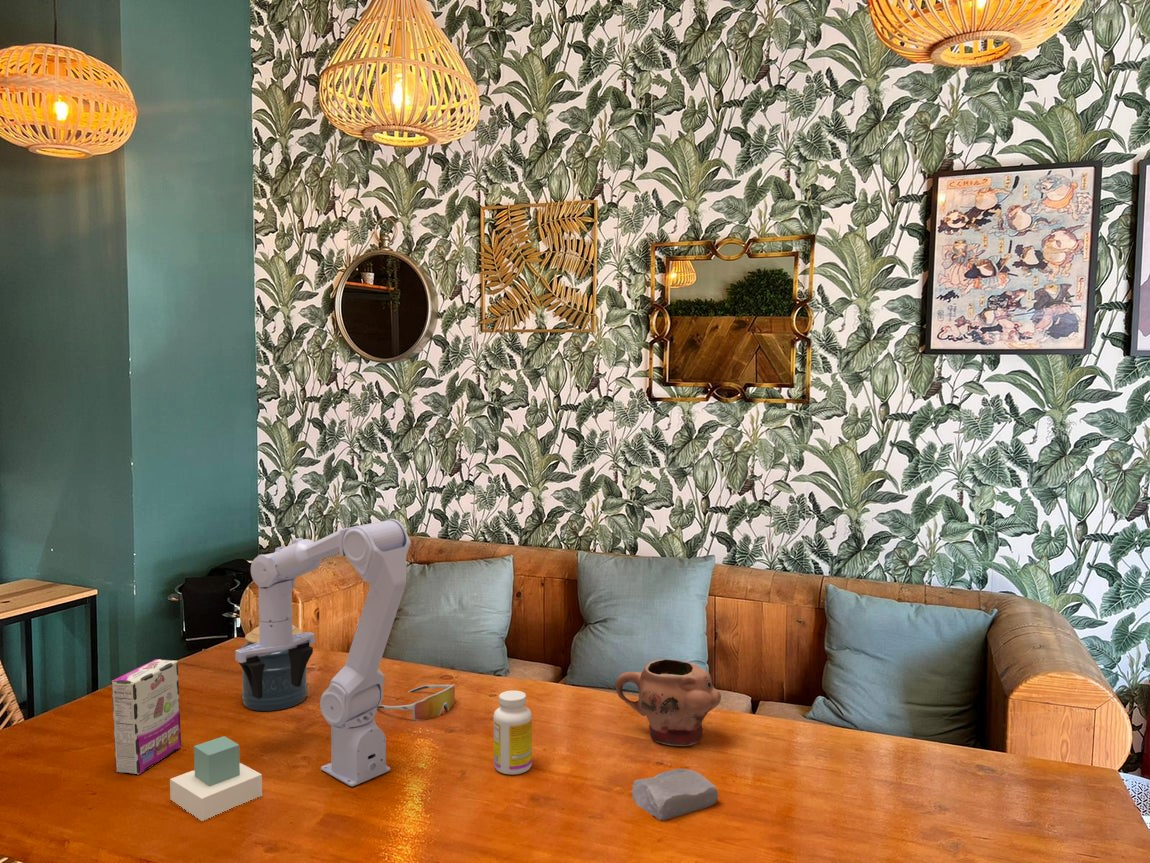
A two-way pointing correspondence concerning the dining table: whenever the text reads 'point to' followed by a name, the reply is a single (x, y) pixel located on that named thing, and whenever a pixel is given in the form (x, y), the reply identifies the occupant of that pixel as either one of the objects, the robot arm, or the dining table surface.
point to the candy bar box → (146, 715)
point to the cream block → (215, 792)
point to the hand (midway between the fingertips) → (277, 691)
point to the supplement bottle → (512, 734)
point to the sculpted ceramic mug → (672, 699)
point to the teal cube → (216, 761)
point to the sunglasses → (429, 703)
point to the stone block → (674, 793)
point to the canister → (274, 680)
